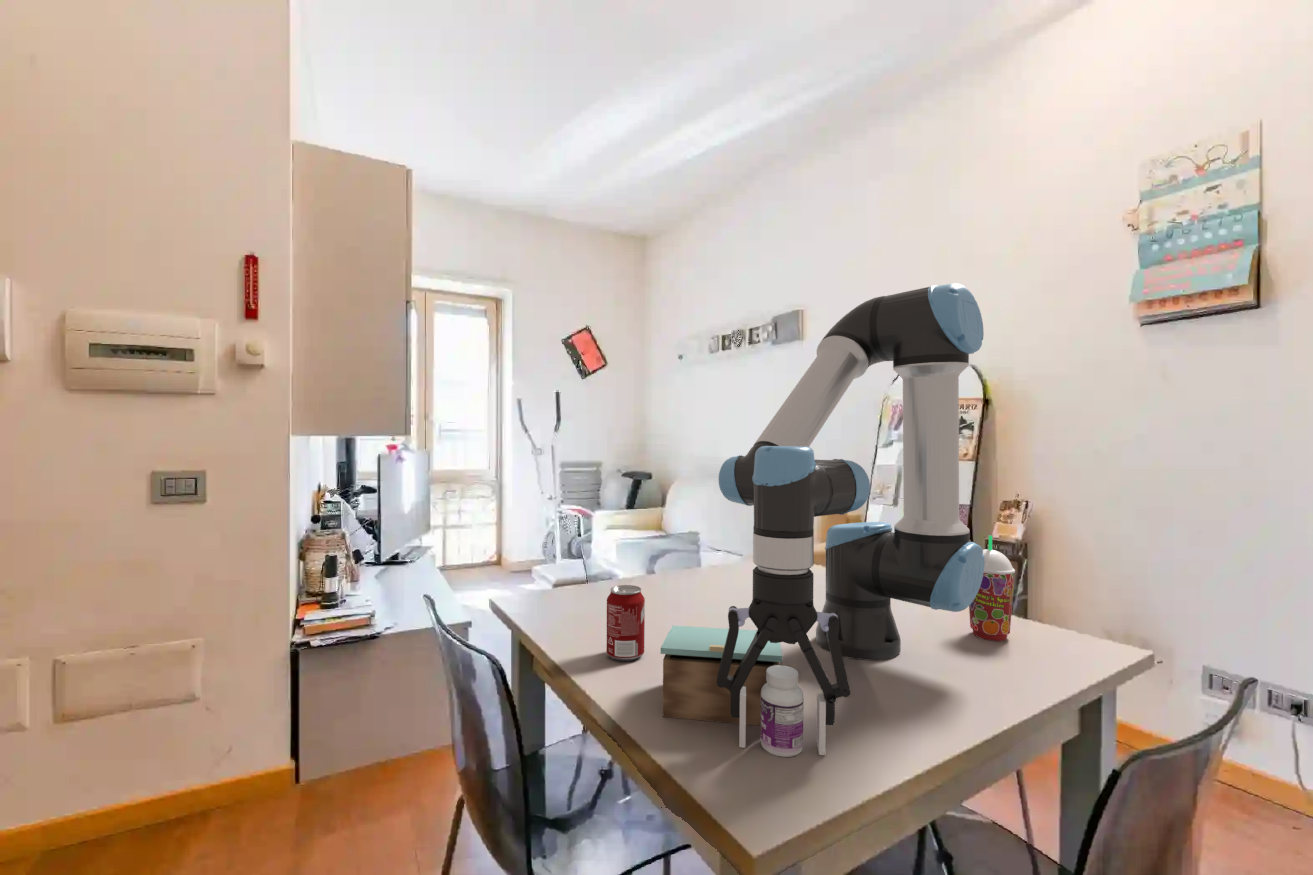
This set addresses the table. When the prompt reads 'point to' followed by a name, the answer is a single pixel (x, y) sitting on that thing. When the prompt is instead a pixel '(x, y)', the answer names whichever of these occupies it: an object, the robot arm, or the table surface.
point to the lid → (714, 643)
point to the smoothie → (993, 598)
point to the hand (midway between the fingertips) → (781, 745)
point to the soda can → (625, 623)
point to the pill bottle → (782, 712)
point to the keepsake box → (708, 689)
